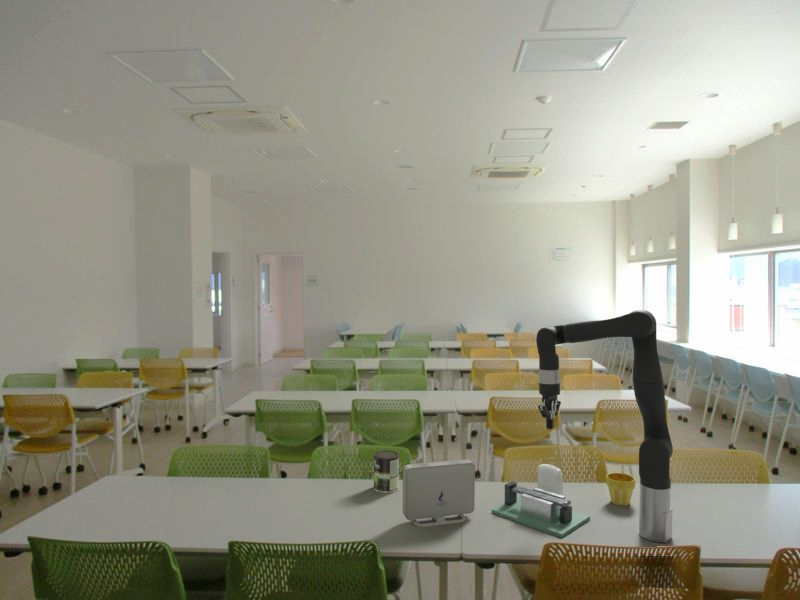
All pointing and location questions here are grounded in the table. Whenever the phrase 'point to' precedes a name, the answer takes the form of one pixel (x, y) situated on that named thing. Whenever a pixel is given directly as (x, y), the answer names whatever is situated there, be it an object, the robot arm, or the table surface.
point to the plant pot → (620, 487)
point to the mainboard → (552, 528)
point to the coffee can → (386, 471)
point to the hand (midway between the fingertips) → (550, 428)
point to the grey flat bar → (542, 496)
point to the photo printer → (550, 479)
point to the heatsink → (539, 505)
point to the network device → (438, 491)
